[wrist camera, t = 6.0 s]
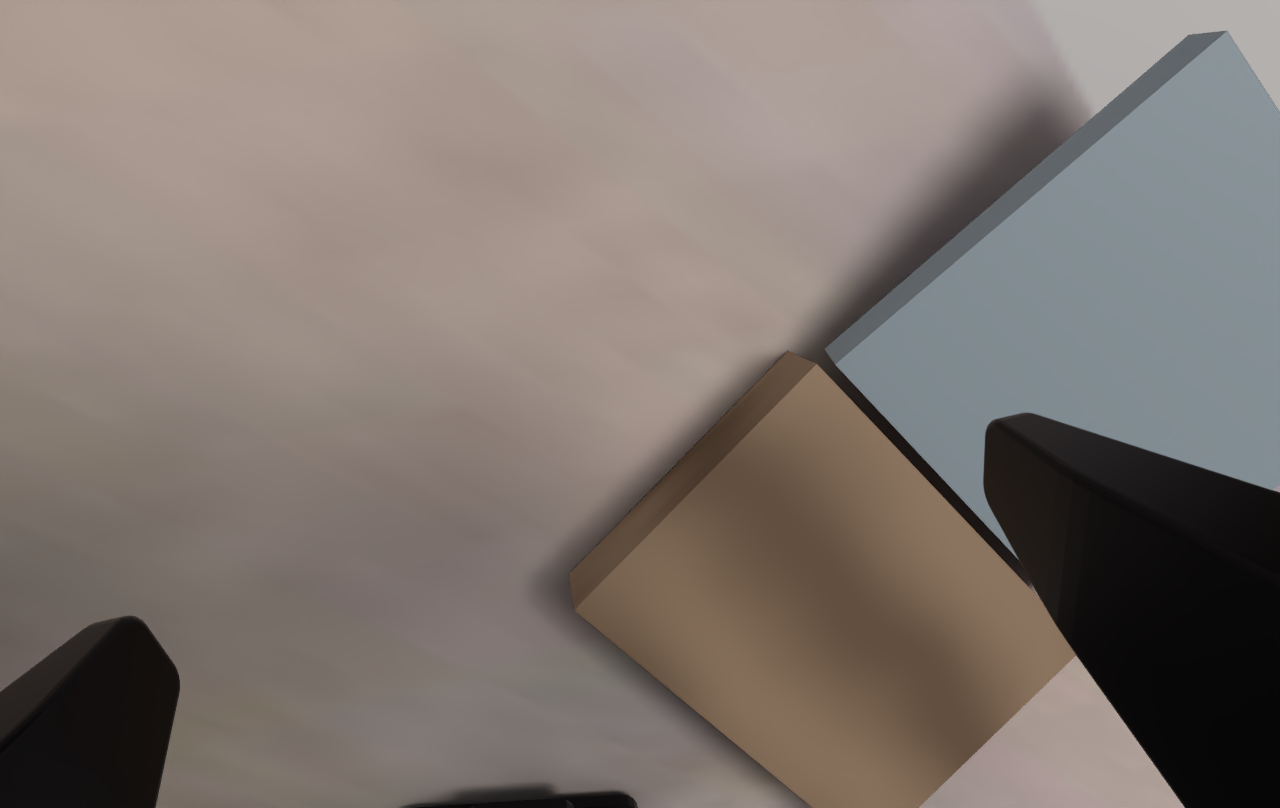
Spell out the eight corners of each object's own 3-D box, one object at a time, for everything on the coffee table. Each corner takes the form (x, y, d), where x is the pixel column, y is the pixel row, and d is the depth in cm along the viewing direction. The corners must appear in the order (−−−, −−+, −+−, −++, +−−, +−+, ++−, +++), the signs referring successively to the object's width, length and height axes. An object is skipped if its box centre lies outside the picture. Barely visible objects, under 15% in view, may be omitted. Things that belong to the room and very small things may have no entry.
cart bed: (839, 802, 23) (869, 854, 21) (568, 574, 20) (573, 610, 18) (1036, 611, 23) (1084, 646, 21) (787, 351, 20) (816, 363, 18)
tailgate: (1075, 620, 21) (1447, 371, 18) (835, 364, 18) (1226, 30, 16) (1043, 581, 22) (1379, 347, 20) (819, 341, 20) (1171, 37, 17)
